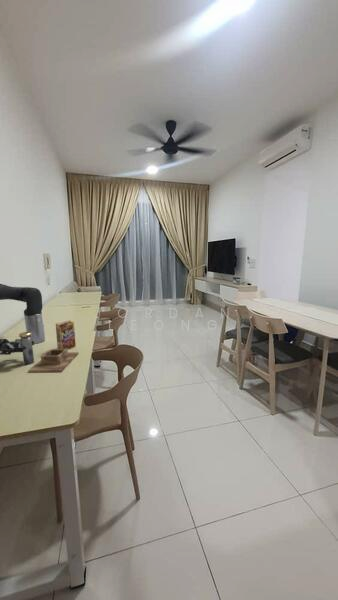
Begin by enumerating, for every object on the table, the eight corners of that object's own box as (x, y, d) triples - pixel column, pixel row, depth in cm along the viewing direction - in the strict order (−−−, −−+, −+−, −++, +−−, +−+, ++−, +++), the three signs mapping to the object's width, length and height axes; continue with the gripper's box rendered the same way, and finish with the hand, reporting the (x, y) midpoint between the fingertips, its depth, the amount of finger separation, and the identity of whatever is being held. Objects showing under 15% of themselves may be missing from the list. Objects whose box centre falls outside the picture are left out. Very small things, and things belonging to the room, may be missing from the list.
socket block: (50, 354, 128) (49, 345, 127) (78, 353, 128) (77, 344, 127) (28, 372, 108) (27, 361, 107) (61, 372, 108) (60, 361, 107)
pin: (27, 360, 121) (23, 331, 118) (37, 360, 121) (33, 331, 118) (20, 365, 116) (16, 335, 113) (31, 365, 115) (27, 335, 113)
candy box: (61, 351, 131) (59, 324, 128) (57, 350, 133) (54, 323, 130) (76, 346, 138) (74, 320, 135) (72, 345, 140) (69, 319, 138)
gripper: (-18, 344, 109) (18, 344, 109) (4, 334, 123) (35, 334, 123) (-15, 360, 110) (20, 359, 110) (6, 348, 124) (37, 347, 124)
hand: (28, 346), depth 116 cm, fingers open, 8 cm apart
